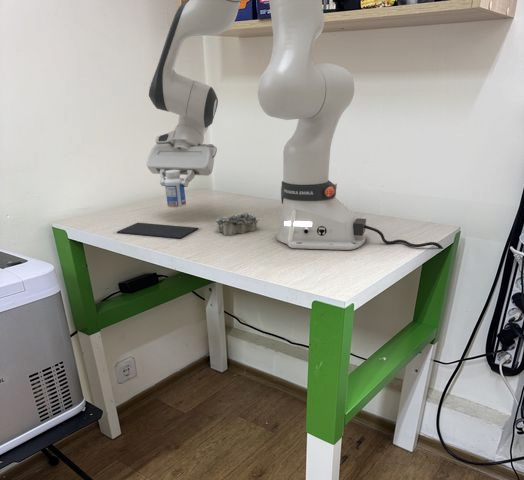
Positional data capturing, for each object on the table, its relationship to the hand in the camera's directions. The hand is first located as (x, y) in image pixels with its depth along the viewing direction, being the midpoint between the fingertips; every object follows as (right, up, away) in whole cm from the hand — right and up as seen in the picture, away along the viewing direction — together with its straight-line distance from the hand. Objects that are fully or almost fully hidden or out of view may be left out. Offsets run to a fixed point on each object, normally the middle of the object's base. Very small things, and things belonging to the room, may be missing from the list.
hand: (173, 185), depth 136 cm
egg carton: (+19, -14, -4) cm, 24 cm away
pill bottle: (0, -5, +4) cm, 6 cm away
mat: (-4, -14, -3) cm, 15 cm away
